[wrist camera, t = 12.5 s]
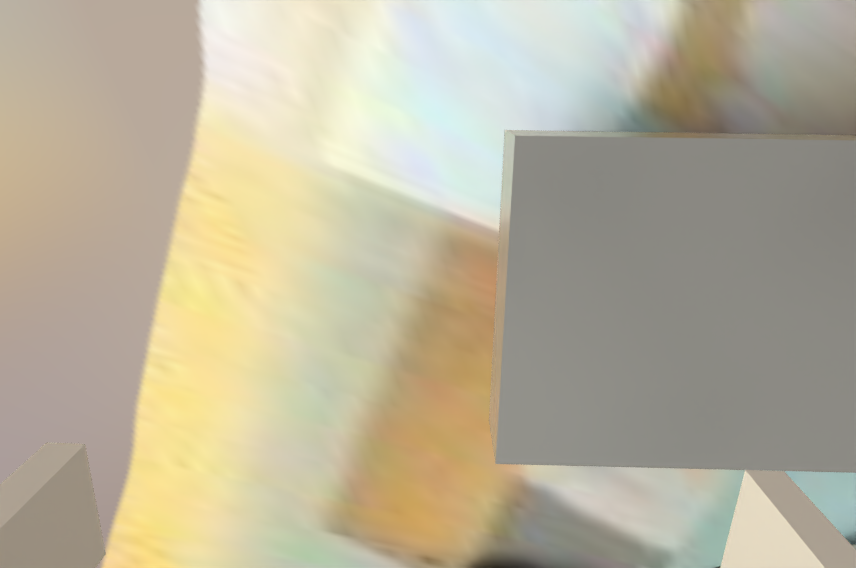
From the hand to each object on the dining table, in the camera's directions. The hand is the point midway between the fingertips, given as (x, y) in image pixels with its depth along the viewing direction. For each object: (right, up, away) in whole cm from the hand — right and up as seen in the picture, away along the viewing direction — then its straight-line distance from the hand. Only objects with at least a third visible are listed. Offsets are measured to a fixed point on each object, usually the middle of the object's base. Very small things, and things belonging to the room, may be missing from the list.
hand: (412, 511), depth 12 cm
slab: (+11, +4, +14) cm, 19 cm away
